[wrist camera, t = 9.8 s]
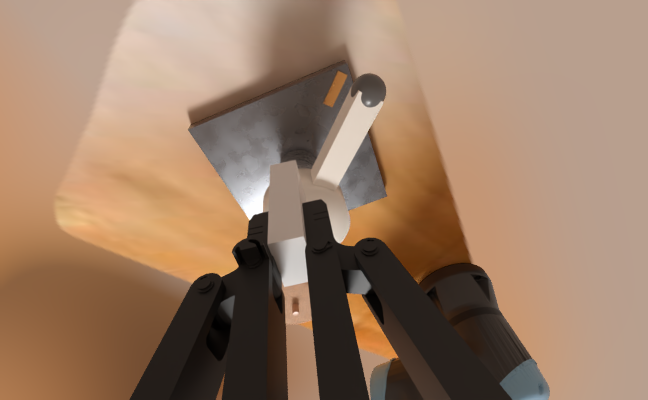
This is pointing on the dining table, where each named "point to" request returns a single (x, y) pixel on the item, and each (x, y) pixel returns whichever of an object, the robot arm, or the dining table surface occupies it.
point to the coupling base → (285, 139)
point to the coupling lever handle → (341, 151)
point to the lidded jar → (297, 303)
